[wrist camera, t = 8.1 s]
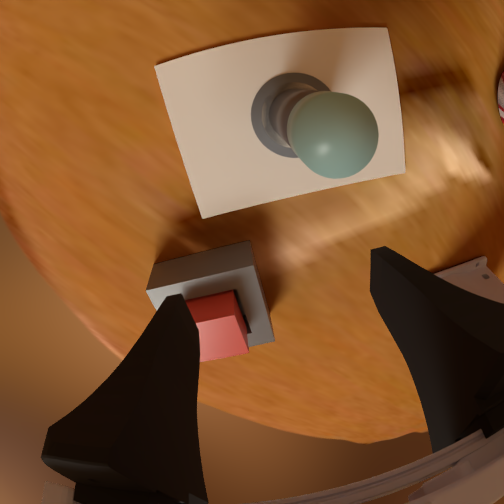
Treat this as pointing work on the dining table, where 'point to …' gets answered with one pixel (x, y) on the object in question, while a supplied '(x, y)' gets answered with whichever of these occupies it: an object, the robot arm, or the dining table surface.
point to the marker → (326, 130)
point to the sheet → (257, 112)
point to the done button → (219, 325)
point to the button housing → (217, 284)
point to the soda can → (501, 97)
